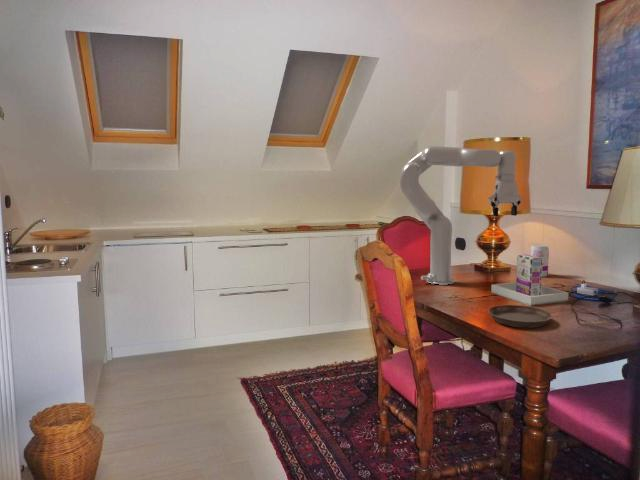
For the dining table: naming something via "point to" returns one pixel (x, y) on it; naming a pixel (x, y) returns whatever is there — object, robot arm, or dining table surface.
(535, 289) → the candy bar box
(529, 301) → the tray
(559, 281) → the dining table surface
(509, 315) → the plant saucer
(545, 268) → the supplement can
